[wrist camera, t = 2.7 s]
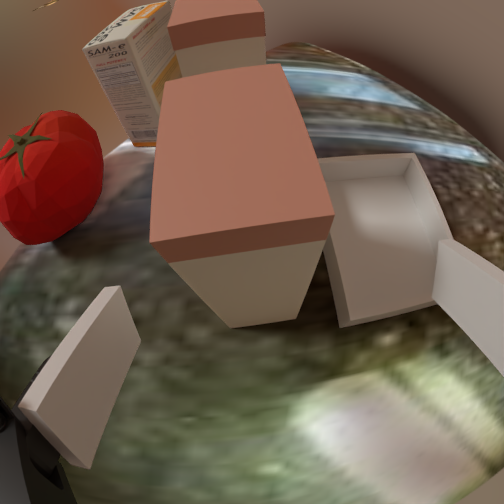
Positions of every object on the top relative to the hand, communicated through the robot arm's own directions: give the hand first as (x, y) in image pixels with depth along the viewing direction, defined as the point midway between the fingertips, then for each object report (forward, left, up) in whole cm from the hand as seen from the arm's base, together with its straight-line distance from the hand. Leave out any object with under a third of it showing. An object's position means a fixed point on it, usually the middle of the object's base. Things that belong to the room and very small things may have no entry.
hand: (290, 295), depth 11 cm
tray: (+8, +7, -9) cm, 14 cm away
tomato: (-20, +11, -9) cm, 25 cm away
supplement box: (-12, +21, -9) cm, 26 cm away
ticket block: (-4, +15, -9) cm, 18 cm away
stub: (-2, +4, -9) cm, 10 cm away
